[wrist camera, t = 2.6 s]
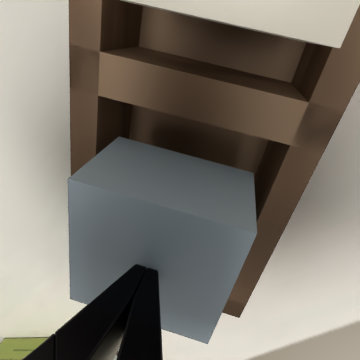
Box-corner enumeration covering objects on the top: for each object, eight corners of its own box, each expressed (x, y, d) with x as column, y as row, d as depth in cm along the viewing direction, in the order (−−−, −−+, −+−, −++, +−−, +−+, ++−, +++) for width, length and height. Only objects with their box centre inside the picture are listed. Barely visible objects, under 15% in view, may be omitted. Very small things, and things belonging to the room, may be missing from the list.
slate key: (253, 172, 11) (257, 233, 8) (216, 269, 14) (207, 344, 11) (119, 136, 12) (67, 178, 9) (110, 237, 15) (70, 298, 12)
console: (458, -254, 8) (684, -556, 4) (240, 254, 19) (239, 317, 15) (147, -293, 9) (61, -578, 5) (108, 215, 20) (72, 264, 16)
